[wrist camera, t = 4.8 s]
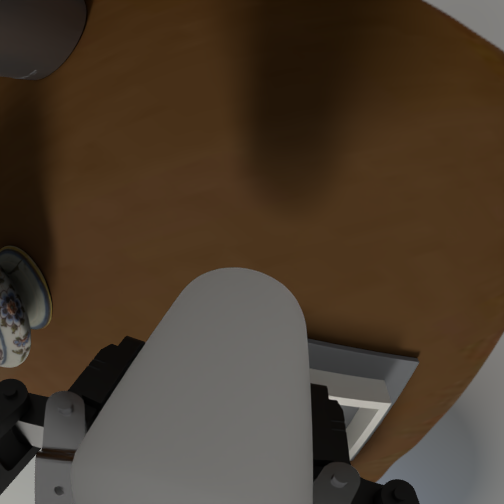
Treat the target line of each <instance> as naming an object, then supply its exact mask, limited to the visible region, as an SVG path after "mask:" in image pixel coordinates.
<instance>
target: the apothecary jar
mask: <svg viewBox="0 0 504 504" xmlns="http://www.w3.org/2000/svg"><path fill="white" fill-rule="evenodd" d="M51 316H52V301H51V296H50V292H49V289H48V286H47V283H46V281H45V279H44V277H43V275H42V273H41V271H40V269H39V268H38V266H37V265H36V263H35V262H34V261H33V260H32V258H31V257H30V256H29V255H28V254H27V253H26V252H24V251H23V250H22V249H20V248H18V247H15V246H5V247H3V248H2V249H1V250H0V366H2V367H15V366H18V365H20V364H21V363H22V362H23V361H24V360H25V359H26V358H27V356H28V354H29V351H30V346H31V330H30V329H35V330H37V329H42V328H45V327H46V326H47V325H48V324H49V322H50V320H51Z"/></svg>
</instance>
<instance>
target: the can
mask: <svg viewBox="0 0 504 504" xmlns="http://www.w3.org/2000/svg"><path fill="white" fill-rule="evenodd" d="M74 455H75V456H74V459H73V462H72V465H71V484H72V492H73V500H74V504H313V442H312V411H311V388H310V370H309V355H308V341H307V330H306V323H305V319H304V315H303V312H302V310H301V308H300V305H299V304H298V302H297V300H296V298H295V297H294V296H293V294H292V293H291V292H290V291H289V290H288V289H287V288H286V287H285V286H284V285H282V284H281V283H280V282H278V281H277V280H275V279H274V278H272V277H270V276H268V275H266V274H264V273H261V272H258V271H255V270H251V269H245V268H222V269H217V270H213V271H210V272H207V273H205V274H203V275H201V276H199V277H197V278H196V279H194V280H193V281H192V282H191V283H189V284H188V285H187V286H186V287H185V289H184V290H183V291H182V292H181V294H180V295H179V296H178V298H177V299H176V300H175V302H174V303H173V304H172V306H171V307H170V309H169V310H168V312H167V313H166V314H165V316H164V317H163V319H162V320H161V322H160V323H159V324H158V326H157V327H156V329H155V330H154V332H153V333H152V334H151V336H150V337H149V339H148V340H147V342H146V343H145V345H144V346H143V348H142V349H141V351H140V352H139V354H138V355H137V357H136V358H135V359H134V361H133V362H132V364H131V365H130V367H129V368H128V370H127V371H126V373H125V374H124V376H123V378H122V379H121V381H120V382H119V384H118V385H117V387H116V388H115V390H114V391H113V393H112V394H111V396H110V397H109V399H108V401H107V402H106V404H105V405H104V407H103V408H102V410H101V411H100V413H99V415H98V416H97V418H96V419H95V421H94V423H93V424H92V426H91V427H90V429H89V431H88V432H87V434H86V436H85V437H84V439H83V440H82V442H81V444H80V445H79V447H78V449H77V451H76V452H75V454H74Z"/></svg>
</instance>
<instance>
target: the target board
mask: <svg viewBox="0 0 504 504" xmlns="http://www.w3.org/2000/svg"><path fill="white" fill-rule="evenodd" d="M307 341H308V355H309V370H310V383H313V384H319V385H325V386H327V388H328V396H329V399H331V400H337V401H338V403H339V404H340V406H341V408H342V409H343V412H344V419H345V422H344V423H345V426H346V433H347V441H348V449H349V457H350V460H353V459H354V458H355V456H356V455H357V454H358V453H359V451H360V450H361V449H362V447H363V446H364V445H365V444H366V442H367V441H368V440H369V438H370V437H371V436H372V434H373V433H374V432H375V430H376V429H377V427H378V426H379V425H380V423H381V422H382V420H383V419H384V417H385V416H386V415H387V413H388V412H389V410H390V409H391V407H392V406H393V404H394V403H395V401H396V400H397V398H398V396H399V395H400V393H401V392H402V390H403V389H404V387H405V385H406V384H407V382H408V380H409V379H410V377H411V375H412V374H413V372H414V370H415V369H416V367H417V365H418V363H419V361H418V359H417V358H412V357H406V356H399V355H393V354H387V353H381V352H375V351H369V350H364V349H358V348H353V347H348V346H342V345H337V344H332V343H327V342H322V341H317V340H313V339H308V338H307Z"/></svg>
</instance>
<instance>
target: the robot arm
mask: <svg viewBox="0 0 504 504" xmlns="http://www.w3.org/2000/svg"><path fill="white" fill-rule="evenodd" d="M85 20H86V5H85V2H84V0H0V76H3V77H12V78H16V79H27V80H38V79H42V78H44V77H46V76H48V75H50V74H51V73H52V72H54V71H55V70H56V69H58V68H59V66H60V65H61V64H62V63H63V62H64V61H65V60H66V59H67V58H68V56H69V55H70V54H71V52H72V51H73V49H74V47H75V46H76V44H77V42H78V40H79V38H80V36H81V34H82V31H83V28H84V25H85ZM144 345H145V342H144V341H141V340H138V339H135V338H132V337H129V336H126V337H125V338H124V339H123V340H122V342H121V343H120V344H119V346H116V345H113V344H110V345H109V346H107V347H105V348H103V349H101V350H100V351H99V353H98V354H97V355H96V356H95V358H94V360H92V361H91V362H90V364H89V366H87V367H86V369H85V370H84V371H83V372H82V374H81V375H80V376H79V377H78V379H77V380H76V381H75V382H74V384H73V385H72V386H71V387H70V389H69V390H68V391H59V392H56V393H54V394H52V395H51V396H50V397H45V396H40V395H36V394H31V393H28V391H27V388H26V386H25V385H24V384H23V383H22V382H21V381H19V380H16V379H6V380H3V381H1V382H0V495H1V494H2V493H3V491H4V490H5V489H6V488H7V487H8V486H9V484H10V483H11V482H12V481H13V480H14V479H15V477H16V476H17V475H18V474H19V473H20V472H21V471H22V470H23V468H24V467H25V466H26V465H27V464H28V463H29V461H30V460H31V459H32V458H33V457H34V456H35V455H36V460H35V461H36V462H35V504H74V500H73V492H72V484H71V465H72V462H73V459H74V456H75V455H74V454H75V452H76V451H77V449H78V447H79V445H80V444H81V442H82V440H83V439H84V437H85V436H86V434H87V432H88V431H89V429H90V427H91V426H92V424H93V423H94V421H95V419H96V418H97V416H98V415H99V413H100V411H101V410H102V408H103V407H104V405H105V404H106V402H107V401H108V399H109V397H110V396H111V394H112V393H113V391H114V390H115V388H116V387H117V385H118V384H119V382H120V381H121V379H122V378H123V376H124V374H125V373H126V371H127V370H128V368H129V367H130V365H131V364H132V362H133V361H134V359H135V358H136V357H137V355H138V354H139V352H140V351H141V349H142V348H143V346H144ZM310 388H311V411H312V442H313V504H419V501H418V498H417V495H416V492H415V490H414V488H413V487H412V486H411V485H410V484H409V483H408V482H406V481H404V480H399V479H395V480H391V481H389V482H387V483H386V484H385V485H381V484H378V483H374V482H371V481H368V480H365V479H363V478H361V477H360V475H359V473H358V472H357V470H356V469H355V468H354V467H352V466H351V463H350V457H349V449H348V441H347V433H346V426H345V423H344V422H345V419H344V412H343V409H342V408H341V406H340V404H339V403H338V401H337V400H331V399H329V396H328V388H327V386H325V385H319V384H313V383H310ZM41 448H42V450H41V451H39V450H40V449H41Z"/></svg>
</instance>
